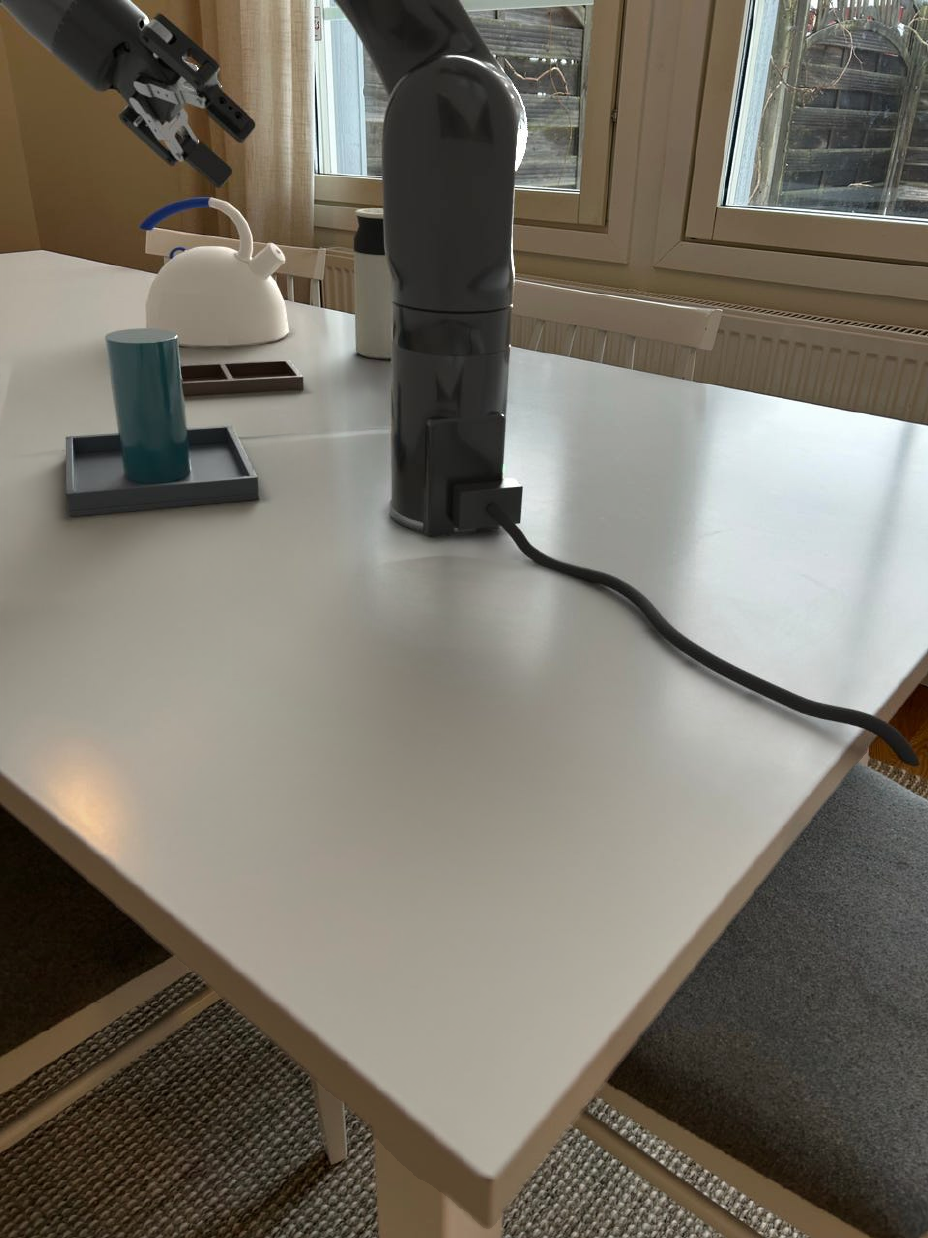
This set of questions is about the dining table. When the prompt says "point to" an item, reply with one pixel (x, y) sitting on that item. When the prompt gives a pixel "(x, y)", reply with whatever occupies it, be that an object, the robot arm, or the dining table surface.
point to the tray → (107, 490)
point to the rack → (240, 378)
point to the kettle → (217, 288)
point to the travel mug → (372, 287)
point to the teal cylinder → (149, 404)
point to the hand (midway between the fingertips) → (237, 158)
